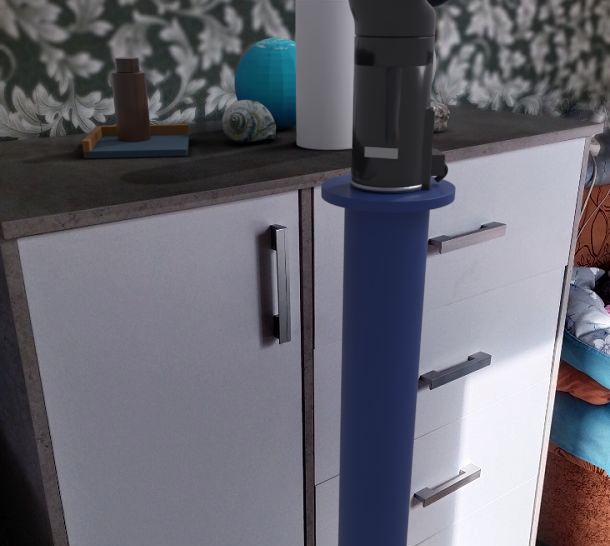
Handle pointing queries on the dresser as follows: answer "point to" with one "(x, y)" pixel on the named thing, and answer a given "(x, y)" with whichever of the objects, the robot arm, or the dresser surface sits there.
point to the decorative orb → (270, 79)
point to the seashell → (248, 122)
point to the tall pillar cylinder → (324, 74)
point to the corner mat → (160, 145)
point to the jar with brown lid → (130, 100)
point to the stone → (440, 116)
